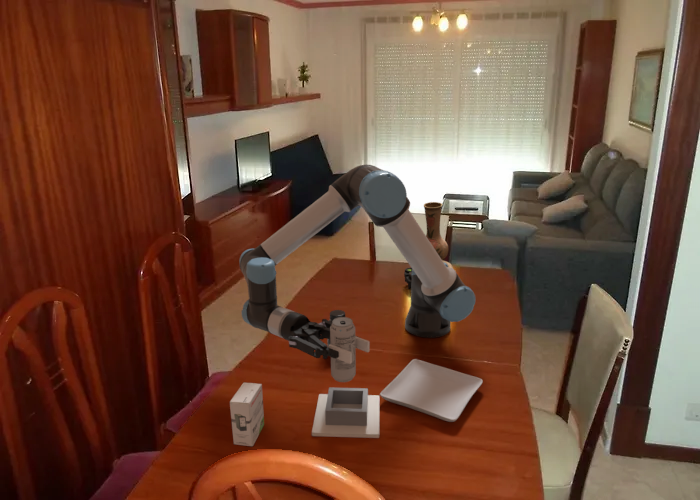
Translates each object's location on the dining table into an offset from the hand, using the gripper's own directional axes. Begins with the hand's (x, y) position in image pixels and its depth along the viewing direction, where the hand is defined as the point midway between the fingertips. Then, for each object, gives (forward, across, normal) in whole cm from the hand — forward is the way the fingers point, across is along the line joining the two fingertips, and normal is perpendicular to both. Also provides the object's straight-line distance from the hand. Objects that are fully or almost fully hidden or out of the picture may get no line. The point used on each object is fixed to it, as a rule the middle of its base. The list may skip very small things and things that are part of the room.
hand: (359, 352), depth 125 cm
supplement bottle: (-29, -26, -20) cm, 43 cm away
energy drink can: (-5, 0, -9) cm, 10 cm away
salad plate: (+8, -21, -20) cm, 30 cm away
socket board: (-4, 0, -20) cm, 20 cm away
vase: (-32, -86, -20) cm, 94 cm away
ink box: (-18, +20, -20) cm, 33 cm away
